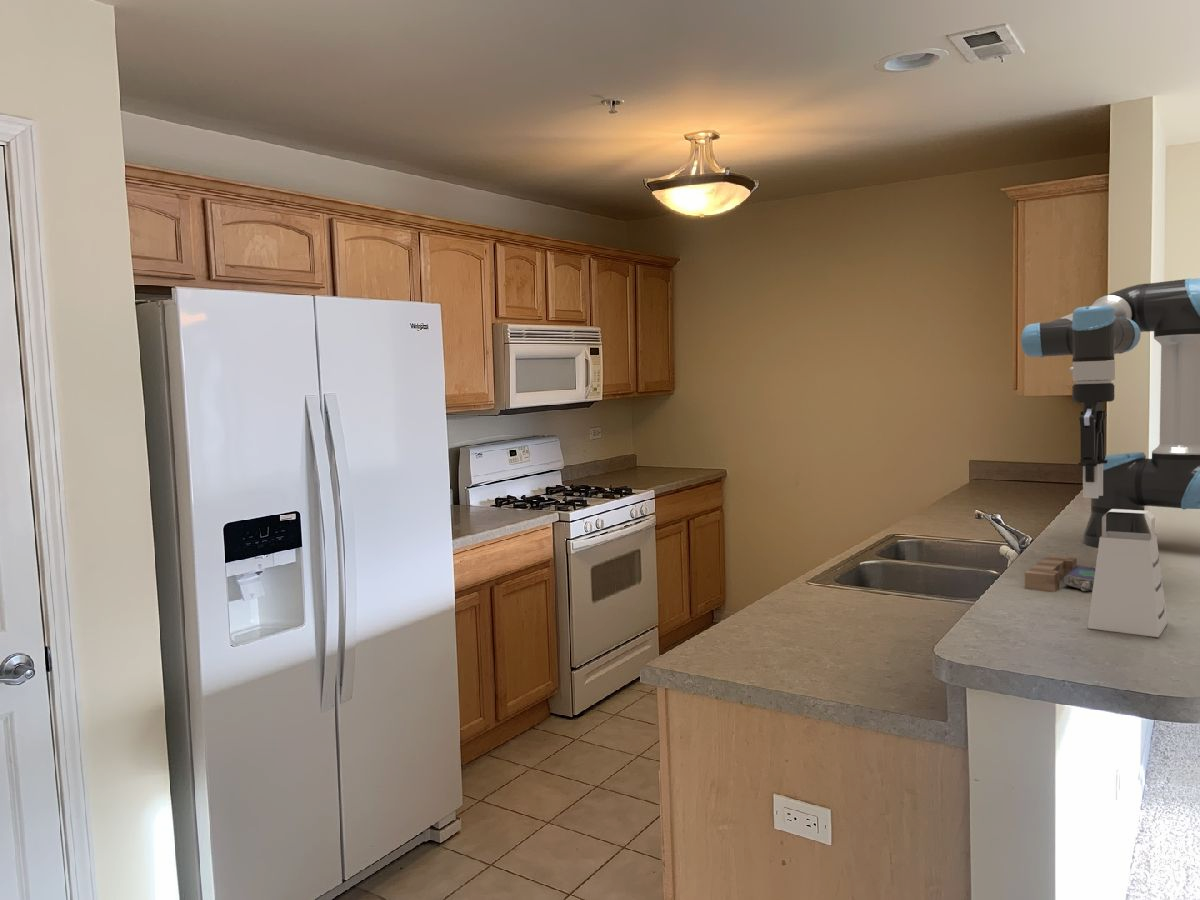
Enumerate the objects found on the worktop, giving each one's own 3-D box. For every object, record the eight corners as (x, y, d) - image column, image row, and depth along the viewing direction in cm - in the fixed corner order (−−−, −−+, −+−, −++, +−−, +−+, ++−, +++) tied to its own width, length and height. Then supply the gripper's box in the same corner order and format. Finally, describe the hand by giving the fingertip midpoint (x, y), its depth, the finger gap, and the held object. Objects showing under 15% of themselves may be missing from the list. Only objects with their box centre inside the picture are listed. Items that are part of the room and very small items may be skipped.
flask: (1123, 569, 182) (1109, 582, 174) (1123, 583, 182) (1109, 596, 174) (1074, 563, 188) (1058, 575, 180) (1074, 577, 188) (1058, 589, 181)
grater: (1099, 614, 161) (1099, 505, 160) (1167, 622, 155) (1168, 509, 153) (1087, 628, 153) (1087, 513, 152) (1158, 637, 147) (1159, 517, 145)
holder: (1049, 570, 199) (1049, 555, 198) (1159, 581, 185) (1159, 564, 185) (1024, 589, 182) (1024, 572, 182) (1143, 602, 169) (1143, 583, 169)
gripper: (1081, 382, 190) (1081, 491, 191) (1063, 384, 177) (1063, 500, 178) (1121, 381, 185) (1121, 492, 187) (1105, 382, 172) (1105, 502, 174)
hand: (1093, 496), depth 183 cm, fingers open, 4 cm apart
